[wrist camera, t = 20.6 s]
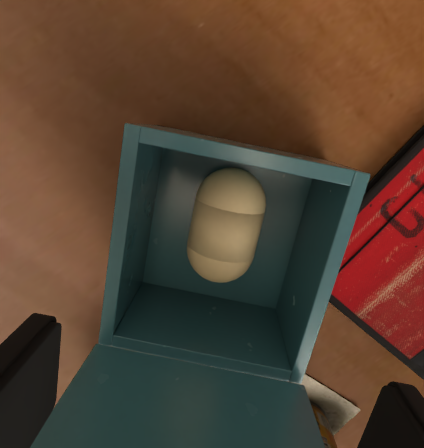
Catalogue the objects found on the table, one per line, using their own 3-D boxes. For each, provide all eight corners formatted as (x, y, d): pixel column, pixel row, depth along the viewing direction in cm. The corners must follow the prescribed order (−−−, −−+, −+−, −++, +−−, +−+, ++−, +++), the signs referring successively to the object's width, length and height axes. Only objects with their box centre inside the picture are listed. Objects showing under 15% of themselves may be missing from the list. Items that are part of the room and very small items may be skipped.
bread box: (157, 125, 27) (124, 122, 18) (325, 159, 27) (371, 173, 18) (134, 284, 31) (97, 344, 22) (281, 314, 31) (301, 384, 22)
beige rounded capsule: (204, 158, 26) (199, 165, 21) (269, 171, 26) (278, 180, 21) (185, 259, 29) (176, 287, 24) (244, 271, 29) (248, 301, 24)
